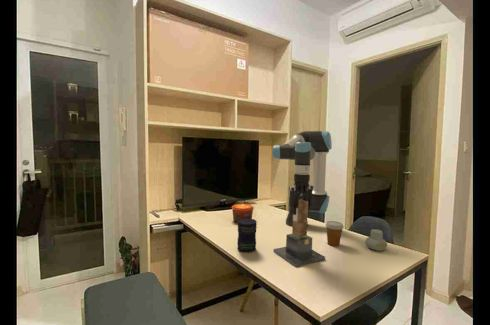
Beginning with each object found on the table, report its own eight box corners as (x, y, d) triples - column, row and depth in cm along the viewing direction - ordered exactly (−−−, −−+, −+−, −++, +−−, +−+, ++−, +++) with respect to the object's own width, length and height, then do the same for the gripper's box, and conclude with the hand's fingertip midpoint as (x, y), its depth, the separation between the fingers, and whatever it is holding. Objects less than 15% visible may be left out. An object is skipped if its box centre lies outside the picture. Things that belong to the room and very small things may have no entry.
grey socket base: (301, 246, 142) (301, 228, 141) (325, 259, 126) (326, 239, 125) (273, 251, 133) (274, 232, 133) (295, 267, 117) (296, 245, 117)
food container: (226, 221, 183) (227, 206, 182) (239, 216, 196) (239, 202, 196) (245, 225, 174) (245, 210, 174) (257, 220, 188) (258, 205, 187)
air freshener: (379, 245, 146) (380, 228, 145) (390, 251, 138) (391, 233, 137) (361, 246, 144) (363, 228, 144) (371, 252, 136) (372, 233, 135)
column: (299, 237, 132) (301, 199, 131) (306, 241, 128) (308, 201, 126) (291, 239, 130) (293, 200, 129) (298, 242, 125) (300, 202, 124)
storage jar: (254, 253, 131) (255, 224, 130) (235, 251, 132) (236, 223, 131) (257, 246, 140) (257, 219, 139) (239, 244, 142) (239, 217, 141)
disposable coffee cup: (342, 242, 149) (343, 222, 148) (342, 248, 140) (343, 227, 139) (324, 240, 152) (325, 220, 151) (324, 246, 143) (325, 224, 142)
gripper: (291, 175, 119) (289, 224, 121) (321, 173, 127) (319, 220, 129) (282, 173, 126) (280, 220, 127) (311, 172, 134) (309, 216, 136)
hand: (300, 220), depth 128 cm, fingers closed on column, 5 cm apart
